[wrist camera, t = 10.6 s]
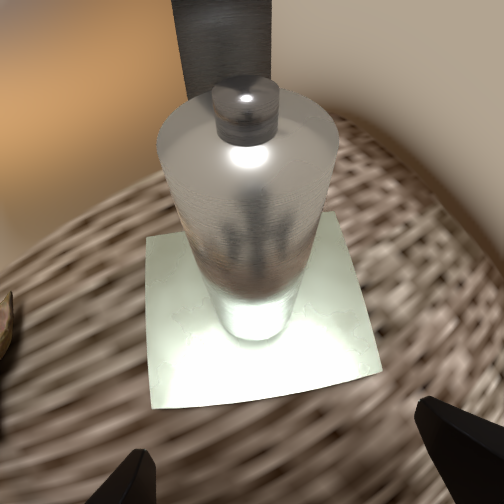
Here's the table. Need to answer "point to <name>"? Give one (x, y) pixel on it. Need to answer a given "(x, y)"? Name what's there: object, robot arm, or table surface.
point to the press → (192, 285)
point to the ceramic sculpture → (6, 323)
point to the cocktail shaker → (249, 194)
